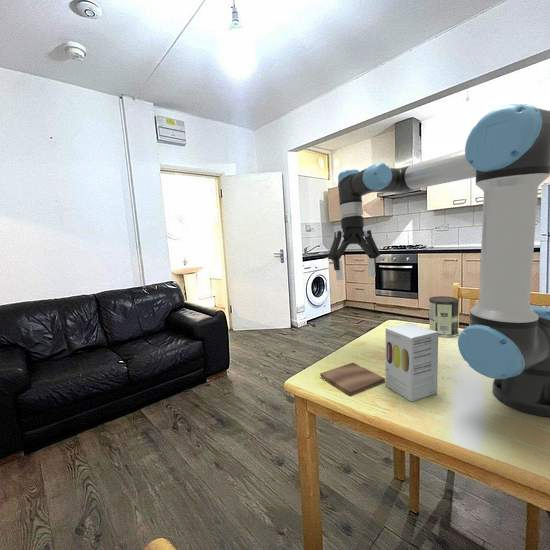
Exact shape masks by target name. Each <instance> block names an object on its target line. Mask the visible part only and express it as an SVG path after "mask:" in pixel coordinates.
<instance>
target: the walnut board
mask: <svg viewBox="0 0 550 550" xmlns="http://www.w3.org/2000/svg"><path fill="white" fill-rule="evenodd" d="M320 376H321V377H322V378H321V377H320V378H321V379H323V378H324V379H325V380H324V379H323V380H324V381H326V380H327V381H328V382H327V381H326V382H327V383H329V382H330V383H331V384H330V383H329V384H330V385H332V386H333V387H336V388H337V389H338V390H340V391H341V392H343V393H345V394H346V395H348V396H349V397H352V396H355V395H356V394H359V393H361V392H364V391H367V390H369V389H372V388H375V387H376V386H379V385H382V384H385V383H386V377H383V376H381V375H379V374H377V373H375V372H373V371H371V370H369V369H367V368H365V367H363V366H361V365H359V364H357V363H355V362H350V363H348V364H345V365H341V366H339V367H335V368H333V369H329V370H326V371H323V372H320Z"/></svg>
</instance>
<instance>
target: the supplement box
mask: <svg viewBox="0 0 550 550" xmlns="http://www.w3.org/2000/svg"><path fill="white" fill-rule="evenodd" d="M438 363H439V336H438V332H437V331H433V330H430V328H427V327H424V326H422V325H418V324H416V323H413V322H408V323H403V324H397V325H394V326H388V327H386V328H385V386H386V387H387V388H389V389H390V390H392V391H394V392H395V393H397V394H398V395H400V396H402V397H403V398H405V399H406V400H408V401H409V402H415V401H418V400H420V399H423V398H426V397H429V396H432V395H436V394H437V393H438V370H439V369H438V367H439V366H438V365H439V364H438Z"/></svg>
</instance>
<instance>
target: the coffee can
mask: <svg viewBox="0 0 550 550" xmlns="http://www.w3.org/2000/svg"><path fill="white" fill-rule="evenodd" d="M428 298H429V299H428V301H429V329H430V330H433V331H437V332H438V337H440V336H441V338H444V337H445V338H452V337H453V338H454V337H457V336H459V302H460V299H459V298H457V297H453V296H443V295H441V296H440V295H439V296H438V295H437V296H432V297H428Z"/></svg>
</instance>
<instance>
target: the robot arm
mask: <svg viewBox="0 0 550 550" xmlns="http://www.w3.org/2000/svg"><path fill="white" fill-rule="evenodd" d="M549 177H550V110H548V109H542V108H538V107H536V106H534V105H531V104H522V103H521V104H515V103H513V104H506V105H503V106H500V107H496V108H494V109H493V110H491V111H490V112H488V113H486V114H485V115H484V116H482V117H481V118H480V119H479V120H478V122H477V123H476V125H474V126H473V128H472V129H471V131H470V132H469V134H468V136H467V138H466V141H465V146H464V149H463V150H459V151H455V152H451V153H449V154H445V155H442V156H437V157H435V158H432V159H428V160H424V161H421V162H417V163H413V164H411V165H407V166H404V167H400V168H397V167H396V168H395V167H389V165H387V164H386V163H384V162H377V163H374V164H371V165H370V166H368V167H366V168H364V169H362V170H358V169H355V168H351V169H347V170H342V171H341V172H340V173H338V176H337V189H338V198H339V200H338V201H339V211H340V217H341V219H340V226H341V227H340V228H341V230H342V231H341V230H338V231H334V236H333V237H334V238H333V241H332V244H331V247H330V250H329V253H328V256H327V259H328V260H331V261H332V262H333V269H334V270H333V271H335V275H336V277H335V278H336V281H344V275H343V274H344V273H343V260H340V259H341V258H342V256H343V255H344V253H345V252H346V250H347V248H348V246H349V245H358V246H359V247H360V248H361V249H362V250H363V252H364V253H365V254H366V256H367V257H368V258H367V273H368V278H376V268H377V258H378V257H380V256H381V252H380V250H379V248H378V246H377V243H376V242H375V240H374V237H373V235H372V230H370V229H368V230H364V226H365V223H364V216H363V215H364V206H363V199H362V198H363V197H362V196H366V195H368V194H370V193H402V194H404V193H411V192H413V191H414V190H417V189H421V188H422V189H423V188H427V187H433V186H437V185H443V184H447V183H452V182H458V181H463V180H467V179H468V180H469V179H474V178H475V186H476V187H478V188H479V189H480V190H482V192H483V202H482V203H483V206H482V207H483V208H482V225H481V226H482V227H481V250H480V270H479V287H478V288H479V290H478V303H477V304H476V305H475V306H473V307H471V308H470V310H469V325H468V326H466V327H465V328H464V329H463V330H461V332H460V334H458V337H457V339H458V340H457V346H458V351H459V353H460V356H461V357H462V358H463V360H464V361H465V362H466V363H467V364H468V366H469V367H470V368H471V369H472V370H473V371H475V372H477V373H478V374H480V375H481V376H484V377H486V378H489V379H493V382H492V393H493V395H494V397H496V398H497V399H498V400H499V401H500V402H502V404H505V405H506V406H509V407H511V408H513V409H515V410H518V411H521V412H524V413H527V414H531V415H535V416H540V417H547V418H548V417H549V418H550V307H548V306H541V305H533V304H531V290H532V278H533V277H532V276H533V263H534V248H535V239H536V238H535V237H536V236H535V235H536V224H537V222H536V221H537V207H538V197H539V196H538V195H539V187H540V185H541V184H542V183H544V181H545V180H547V179H549ZM342 238H343V240H342ZM341 240H342V241H341Z"/></svg>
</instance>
